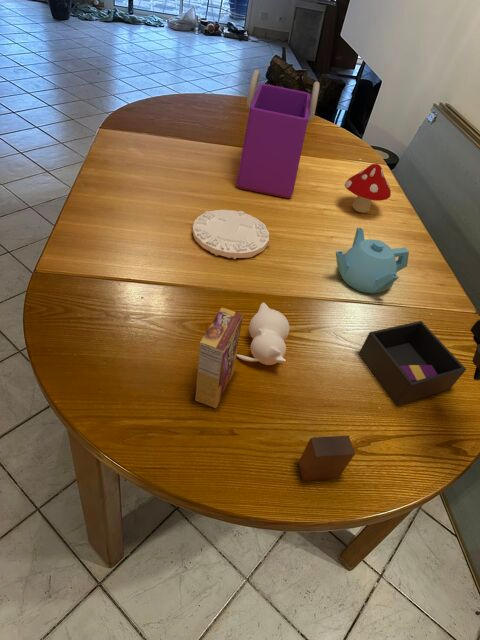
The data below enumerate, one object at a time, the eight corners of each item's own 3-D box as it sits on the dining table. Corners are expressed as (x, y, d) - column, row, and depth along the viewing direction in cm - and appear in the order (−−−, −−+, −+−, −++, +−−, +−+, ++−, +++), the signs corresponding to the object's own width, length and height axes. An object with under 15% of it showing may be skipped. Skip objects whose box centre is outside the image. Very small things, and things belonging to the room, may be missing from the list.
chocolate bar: (426, 372, 84) (431, 364, 83) (434, 387, 82) (440, 379, 80) (390, 373, 83) (395, 365, 81) (397, 388, 80) (403, 380, 78)
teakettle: (382, 308, 98) (400, 272, 90) (324, 280, 102) (337, 243, 95) (400, 278, 108) (419, 243, 100) (347, 253, 112) (361, 218, 105)
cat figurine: (280, 341, 72) (280, 294, 81) (224, 354, 76) (230, 308, 84) (296, 370, 78) (295, 323, 86) (244, 381, 81) (248, 335, 90)
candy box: (212, 364, 79) (221, 305, 68) (233, 372, 78) (246, 314, 67) (192, 400, 72) (198, 341, 62) (215, 409, 72) (225, 351, 61)
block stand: (333, 460, 68) (348, 435, 62) (338, 478, 66) (355, 454, 60) (297, 463, 67) (310, 437, 61) (302, 481, 65) (316, 456, 59)
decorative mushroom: (339, 218, 125) (356, 170, 115) (334, 196, 135) (349, 150, 125) (385, 225, 126) (405, 178, 116) (377, 203, 136) (395, 158, 126)
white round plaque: (281, 238, 113) (283, 228, 111) (240, 270, 100) (242, 261, 98) (221, 209, 119) (222, 199, 117) (176, 236, 107) (176, 226, 105)
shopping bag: (306, 201, 130) (335, 97, 109) (236, 194, 127) (252, 86, 106) (293, 162, 150) (315, 67, 129) (233, 155, 147) (245, 57, 126)
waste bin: (449, 389, 83) (466, 369, 78) (397, 406, 78) (411, 385, 73) (408, 341, 91) (421, 320, 86) (358, 353, 86) (369, 332, 82)
